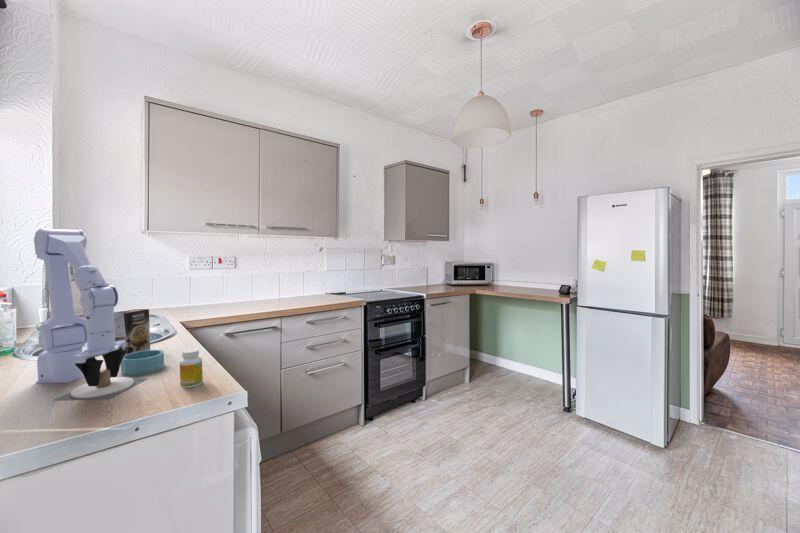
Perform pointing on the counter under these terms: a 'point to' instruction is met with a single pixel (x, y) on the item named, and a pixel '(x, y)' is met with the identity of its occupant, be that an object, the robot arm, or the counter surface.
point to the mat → (68, 396)
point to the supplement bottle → (191, 369)
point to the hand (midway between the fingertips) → (103, 381)
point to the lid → (102, 386)
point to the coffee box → (133, 329)
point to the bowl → (142, 362)
